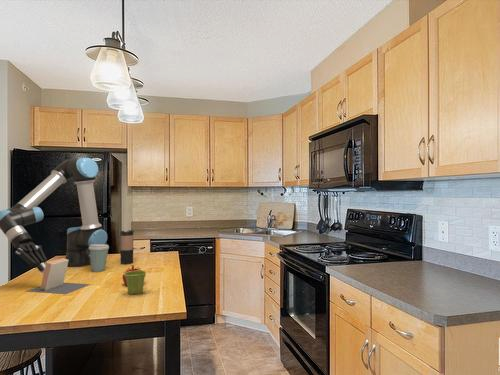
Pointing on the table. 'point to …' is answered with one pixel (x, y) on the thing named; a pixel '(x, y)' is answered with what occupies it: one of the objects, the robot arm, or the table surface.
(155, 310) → the table surface
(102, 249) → the disposable coffee cup
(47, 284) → the tile
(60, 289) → the mat
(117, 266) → the table surface
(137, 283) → the plant pot
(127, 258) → the travel mug
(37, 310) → the table surface
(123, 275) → the pomegranate
